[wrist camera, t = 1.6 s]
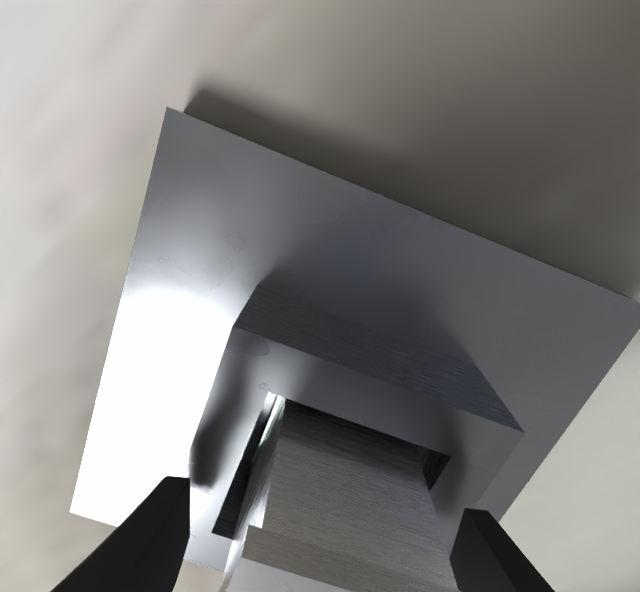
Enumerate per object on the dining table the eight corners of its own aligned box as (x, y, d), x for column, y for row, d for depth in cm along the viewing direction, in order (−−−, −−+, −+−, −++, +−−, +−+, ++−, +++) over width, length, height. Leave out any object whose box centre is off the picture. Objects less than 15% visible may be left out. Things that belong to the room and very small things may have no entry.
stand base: (626, 296, 14) (762, 358, 9) (420, 593, 18) (447, 721, 14) (182, 112, 12) (100, 84, 8) (87, 488, 17) (5, 598, 13)
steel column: (412, 394, 14) (498, 637, 7) (359, 490, 15) (384, 772, 8) (288, 349, 13) (241, 557, 6) (245, 452, 14) (168, 716, 8)
